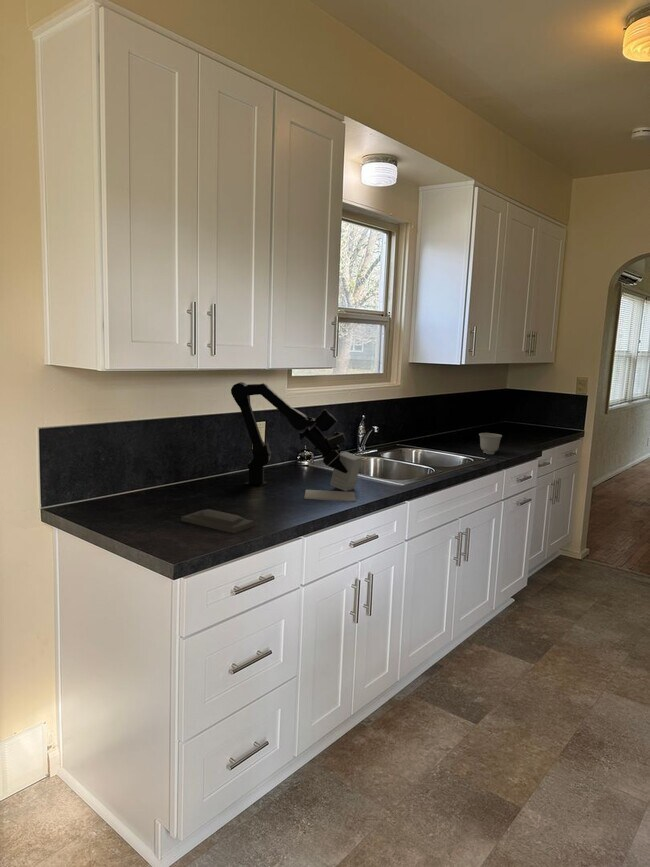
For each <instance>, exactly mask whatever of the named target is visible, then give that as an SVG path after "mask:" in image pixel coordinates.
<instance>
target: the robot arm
mask: <svg viewBox="0 0 650 867" xmlns="http://www.w3.org/2000/svg"><path fill="white" fill-rule="evenodd" d="M230 389H231V390H230V393H231V395H232V398H233V400H234V402H235V403H236V405H237V406H238V408H239V410H240V412H241V415H242V418H243V421H244V424H245V427H246V430H247V432H248V436H249V439H250V443H251V450H252V459H251V460H249V462H248V463H247V464H246V465H247V467H248V468H247V469H248V481H246V482H245V483H244V485H247V486H253V487H262V486H264V485H266V484H268V482H267V481H264V480H265V466H266V465H267V464H268V463H269V461H270V459H271V456H272V455H271V454H272V451H271V448H270V444H269V442H266V443H265V442H264V440H263V438H262V436H261V432H260V430H259V427H258V424H257V420H256V417H255V414H254V412H253V408H252V406H251V405H252V404H251V396H260V395H261V396H262V397H263V398H264V399H265V400H266V401H267V402H269V403H270V404H271V405H272V406H273V407H274V408H276V409H277V410H278V411H279V412H280V413H281V414H283V415H284V416H285V418H286V419H287V421H288V423H290V425H291V426H292V428H294V430H296V431H301V432H299V433H298V434H299V439H298V440H299V441H302V440H303V439H304V438H305V439H306V441H308V443H310V444H311V446H313V447H314V450H315V451H317V452H318V453H319V454H320V455H321V457H322V463H324V465H325V467H326V466H327V467H329V468H331V469H333V470H334V469H336V470H339V471H341V472H343V473H347V472H348V471H347V469H346V468H345V467H344V465H343V464H342V462H341V461H340V453H341V447H340V446H339V445H340V444H344V443H346V442H347V439H346V437H345V434H344V432H339V431H336V432H334V434H333V435H334V436H332V437H328V436H327V435H326V436H325V435H324V434H323V433H324V432H326V433H327V432H328V431H330V430H331V429H332V428H333V427H335V425H336V424H337V423H338V422H339V421H338V419H336V417H335V416H334V415H333V414H331V413H330V412H329V411H328V409H326V408H325V409H323V410H322V411H321V413H319V415H317V416H316V417H311V416H307V415H306V414H305V413H303V412H301V411H300V410H298V409H296V408H294V407H292V406H291V405H290V404H288V403H287V402H286V401H285V400H284V399H283V398H282V397H280V396H279V395H278V394H277V393H276V392H275V391H274V390H273V389H272V388H271V387H269V386H268V385H267V383H264V382H263V383H257V384H256V383H252V384H247V383H245V382H237V383H235V384H233V385H232V386H231V388H230ZM303 430H304V431H303ZM302 431H303V432H302ZM322 432H323V433H322Z"/></svg>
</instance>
